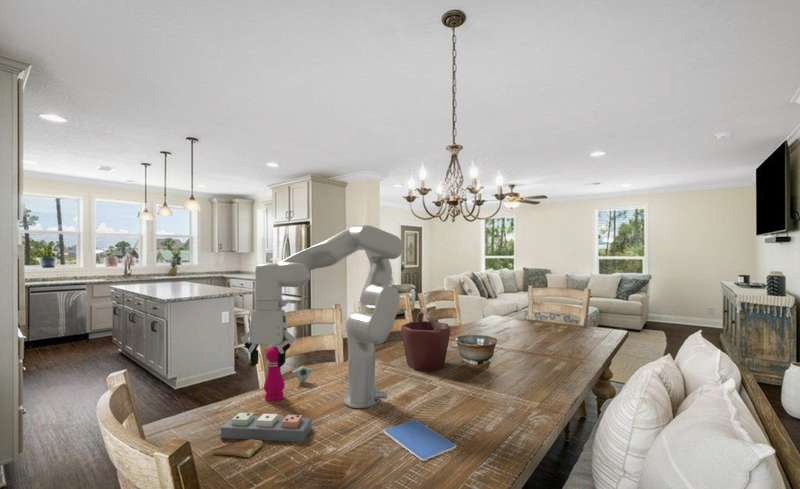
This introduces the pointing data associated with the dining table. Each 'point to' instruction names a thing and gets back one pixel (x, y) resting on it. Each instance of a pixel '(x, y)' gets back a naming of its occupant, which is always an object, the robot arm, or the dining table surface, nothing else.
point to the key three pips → (292, 421)
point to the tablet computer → (419, 439)
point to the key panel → (266, 431)
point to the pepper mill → (273, 376)
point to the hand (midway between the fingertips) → (267, 365)
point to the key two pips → (242, 419)
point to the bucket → (425, 343)
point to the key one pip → (267, 420)
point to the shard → (240, 448)
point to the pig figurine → (302, 373)
